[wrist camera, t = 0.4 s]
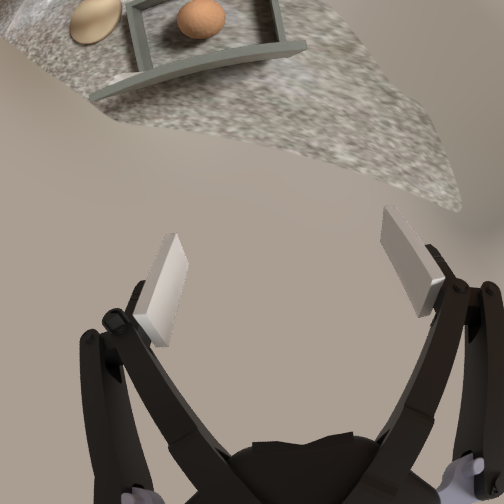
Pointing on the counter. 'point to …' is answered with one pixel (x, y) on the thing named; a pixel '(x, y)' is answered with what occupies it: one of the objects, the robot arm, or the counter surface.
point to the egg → (201, 19)
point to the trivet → (95, 20)
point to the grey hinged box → (193, 64)
